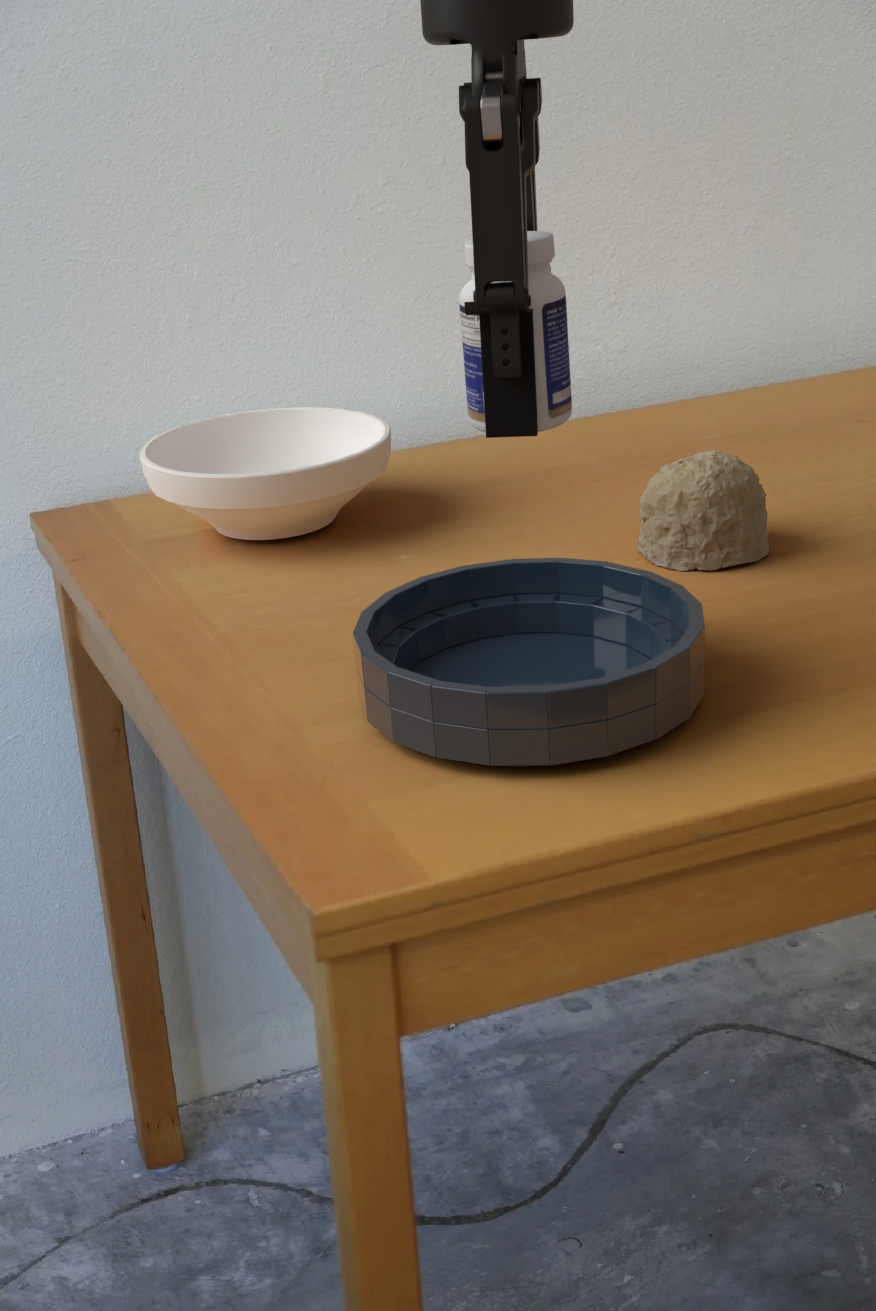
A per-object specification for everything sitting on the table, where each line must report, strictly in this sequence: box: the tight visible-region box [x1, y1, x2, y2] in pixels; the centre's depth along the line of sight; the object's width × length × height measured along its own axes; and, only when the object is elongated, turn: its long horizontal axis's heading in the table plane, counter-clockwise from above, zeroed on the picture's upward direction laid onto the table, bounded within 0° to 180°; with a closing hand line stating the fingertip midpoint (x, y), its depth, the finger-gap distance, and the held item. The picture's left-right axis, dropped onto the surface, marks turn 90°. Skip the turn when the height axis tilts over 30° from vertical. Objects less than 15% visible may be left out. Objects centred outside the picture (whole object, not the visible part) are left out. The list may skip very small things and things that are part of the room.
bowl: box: [139, 406, 392, 541], centre depth 116 cm, size 20×20×7 cm
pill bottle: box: [458, 230, 573, 433], centre depth 79 cm, size 6×6×10 cm
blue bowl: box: [352, 557, 706, 768], centre depth 84 cm, size 20×20×5 cm
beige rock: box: [637, 449, 770, 572], centre depth 104 cm, size 9×10×10 cm
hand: (516, 418), depth 81 cm, fingers closed on pill bottle, 6 cm apart
